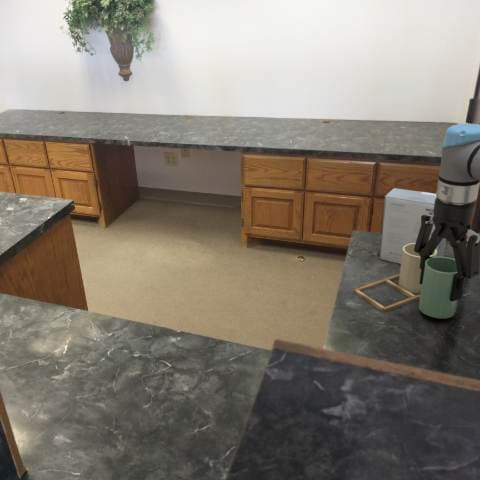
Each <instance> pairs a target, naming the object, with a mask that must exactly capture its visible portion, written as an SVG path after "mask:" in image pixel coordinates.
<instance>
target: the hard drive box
mask: <svg viewBox="0 0 480 480" xmlns="http://www.w3.org/2000/svg"><path fill="white" fill-rule="evenodd" d="M436 198H437V196H436V193H432V192H427V191H420V190H419V191H418V190H409V189H405V188H404V189H403V188H397V187H396V188H395V187H394V188H392V190H390V191H389V192H388V193H386V195H384V200H383V213H382V224H381V225H382V226H381V234H380V235H381V236H380V248H379V260H383V261H385V262H390V263H394V264H400V265H401V258H402V250H403V247H404V246H405V245H407V244H410V243H416V240H417V237H418V234H419V230H420V227H421V216H422V215H425V214H428V213H432V214H433V210H434V203H435V199H436ZM433 215H434V214H433ZM434 230H435V226H434V223H433V228H432V231H431V234H432V233H433V231H434ZM431 234H430V237H429V239H430V238H431ZM428 241H429V240H428ZM446 244H447V239H445V238H443V239H442V240H441V242H440V243H439V245H438V246H437V248H436V250H437V255H436V257H445V251H446V246H447V245H446Z"/></svg>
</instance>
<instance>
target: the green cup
mask: <svg viewBox="0 0 480 480" xmlns="http://www.w3.org/2000/svg"><path fill="white" fill-rule="evenodd" d="M456 274H458V272H457V267H456V262H455V258H452V257H448V256H444V257H432V258H429V259H427V260H426V261H425V266H424V273H423V279H422V286H421V293H419V294H420V299H419V300H418V309H419V311H420V312H421V313H423V314H424V315H426V316H427V317H431V318H435V319H449V318H453V317H454V316H455V314H456V311H457V307H458V301H459V299H458V300H456V301H453V302H452V301H450V295H451V289H452V284H453V278H454V275H456Z"/></svg>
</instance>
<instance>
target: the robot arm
mask: <svg viewBox="0 0 480 480" xmlns="http://www.w3.org/2000/svg"><path fill="white" fill-rule="evenodd" d="M443 139H444V140H443V144H442V146H441V147H442V148H441V157H440V166H439V172H438V177H437V184H436V193H435V194H436V196H437V198H436V199H435V203H434V210H433V214H434V215H433V214H432V213H428V214H425V215H422V216H421V227H420V230H419V234H418V237H417V240H416V244H415V247H414V251H415V252H416V253H417V252H418V253H419V254H420V257H421V260H420V269H421V276H420V284H421V285H422V279H423V273H424V266H425V261H426V260H427V259H429V258H432V257H430V256H431V255H434V254H433V252H434V251H435V249H436V248H437V246H438V245H439V243H440V242H441V240H442V239H443V238H445V239H446V241H448V242H449V246H450V247H451V248H452V251H453V256H454V257H453V258H454V259H455V262H456V267H457V272H458V274H456V275H454V278H453V284H452V289H451V295H450V301H452V302H453V301H456V300H458V301H459V300H461V299H462V298H463V292H464V290H465V289H467V287H468V283H469V279H472V278H475V277H477V276H480V232H478V233H477V232H476V231H475V230H473V229H472V225H471V222H472V219H473V218H474V214H475V208H476V204H477V203H476V201H477V199H478V195H479V188H480V124H476V123H458V124H454V125H451V126H450V127H448V128H447V130H446V131H445V135H444V138H443ZM433 223H434V226H435V230H434V231H433V233H432V234H431V231H432V228H433ZM430 234H431V238H430V239H429V237H430ZM428 240H429V241H428Z"/></svg>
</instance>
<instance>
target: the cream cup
mask: <svg viewBox="0 0 480 480" xmlns="http://www.w3.org/2000/svg"><path fill="white" fill-rule="evenodd" d="M415 244H416V243H410V244H407V245H405V246H404V247H403V250H402V258H401V264H400V268H399V274H400V275H399V279H398V286H400V287H402V288H403V289H405V290H407V291H409V292H410V293H412V294H417V295H419V294H420V293H421V286H422V285H421V284H420V276H421V269H420V260H421V257H420V254H419V253H418V252H417V253H416V252H415V251H414V247H415ZM433 254H434V255H431V256H430V257H436V255H437V250H436V249H435V251H434V252H433Z"/></svg>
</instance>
